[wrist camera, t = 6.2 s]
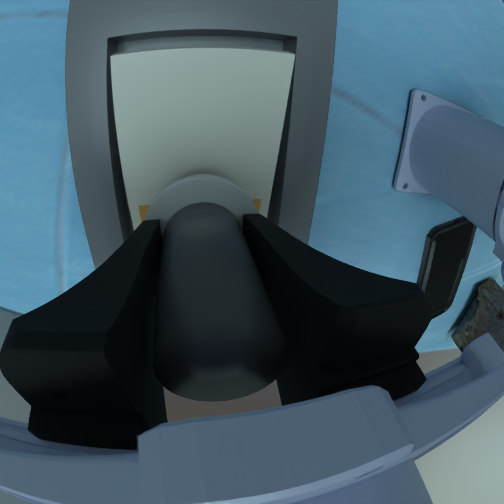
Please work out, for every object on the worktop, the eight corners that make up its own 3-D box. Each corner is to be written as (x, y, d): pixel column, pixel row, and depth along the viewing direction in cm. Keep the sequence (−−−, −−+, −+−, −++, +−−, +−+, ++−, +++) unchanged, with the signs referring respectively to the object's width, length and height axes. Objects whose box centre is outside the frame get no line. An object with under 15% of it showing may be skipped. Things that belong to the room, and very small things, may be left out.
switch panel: (326, -7, 11) (356, -20, 8) (293, 271, 22) (309, 302, 19) (81, -8, 8) (58, -23, 5) (108, 284, 19) (100, 319, 16)
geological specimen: (464, 323, 38) (508, 385, 26) (443, 333, 37) (489, 402, 25) (491, 275, 32) (547, 341, 20) (471, 283, 31) (532, 357, 19)
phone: (406, 331, 31) (432, 234, 22) (402, 325, 32) (425, 227, 23) (450, 309, 32) (480, 215, 23) (445, 303, 33) (473, 209, 24)
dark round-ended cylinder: (253, 162, 13) (350, 282, 5) (241, 249, 15) (294, 405, 8) (151, 158, 12) (94, 284, 4) (152, 248, 14) (135, 415, 6)
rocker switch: (289, 51, 10) (296, 54, 9) (260, 228, 17) (263, 238, 16) (115, 53, 8) (109, 56, 8) (138, 235, 15) (137, 247, 15)
